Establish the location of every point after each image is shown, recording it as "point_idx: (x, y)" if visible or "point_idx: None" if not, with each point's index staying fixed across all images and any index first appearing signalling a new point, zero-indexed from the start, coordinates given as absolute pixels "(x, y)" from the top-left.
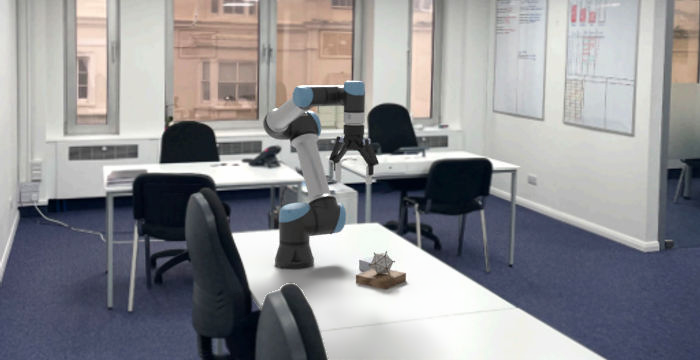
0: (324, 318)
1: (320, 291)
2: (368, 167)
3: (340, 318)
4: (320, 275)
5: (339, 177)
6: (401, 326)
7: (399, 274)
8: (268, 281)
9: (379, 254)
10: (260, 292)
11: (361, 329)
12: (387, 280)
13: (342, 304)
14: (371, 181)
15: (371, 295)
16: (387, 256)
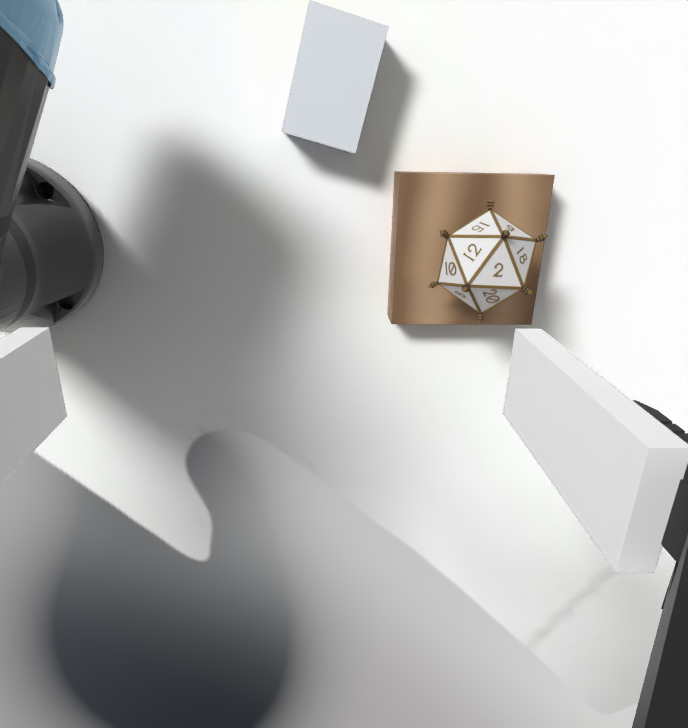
0: (483, 601)
1: (342, 453)
2: (650, 543)
3: (518, 582)
4: (220, 312)
5: (39, 380)
6: None
7: (538, 212)
8: (134, 469)
9: (488, 278)
10: (203, 554)
11: (598, 606)
12: (530, 313)
13: (467, 505)
14: (551, 344)
15: (503, 394)
16: (520, 257)
